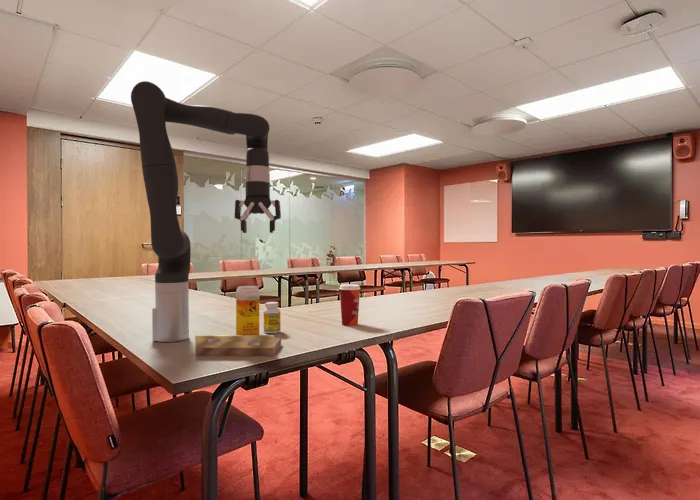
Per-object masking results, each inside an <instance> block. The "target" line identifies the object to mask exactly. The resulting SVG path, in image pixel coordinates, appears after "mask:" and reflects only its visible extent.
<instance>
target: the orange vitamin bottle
mask: <svg viewBox="0 0 700 500" xmlns="http://www.w3.org/2000/svg"><path fill="white" fill-rule="evenodd" d="M235 299H236V300H235V306H236V307H235V314H236V315H235V316H236V317H235V319H236V320H235V323H236V324H235V329H236V330H235V335H260V289H259V286H258V285H240V286H237V288H236V291H235Z"/></svg>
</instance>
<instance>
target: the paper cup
mask: <svg viewBox="0 0 700 500" xmlns="http://www.w3.org/2000/svg"><path fill="white" fill-rule="evenodd" d="M361 289H362V288H361V287H360V284H356V283H353V284H352V283H351V284H350V283H349V284H348V283H346V284H340V285H339V288H338V290H339V295H340V298H339V299H340V300H339V301H340V312H341V313H340V315H341V316H340V317H341V325H342V326H345V327H354V326H358V324H359V311H360V310H359V309H360V308H359V307H360V294H361V293H360V292H361Z"/></svg>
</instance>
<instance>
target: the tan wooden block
mask: <svg viewBox="0 0 700 500" xmlns="http://www.w3.org/2000/svg"><path fill="white" fill-rule="evenodd" d="M274 335H275V334H272V335H271V334H268V335H267V334H266V335H265V334H263V335H261V334H259V335H236V334H233V335H232V334H228V335H227V334H225V335H224V334H221V335H220V334H197V335H195V336H194V339H195V342H194V343H195V350H194V351H195V354H194V355H195V356H221V357H222V356H229V357H230V356H233V357H234V356H238V357H239V356H244V357H245V356H247V357H248V356H249V357H250V356H259V357H260V356H264V357H265V356H267V357H268V356H270V357H272V356H274V355H275V354H276V353H277V352H278V350H279V349H278V348H280V347H281V346H280V345H282V337H275V336H274ZM275 352H276V353H275Z"/></svg>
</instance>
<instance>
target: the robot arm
mask: <svg viewBox="0 0 700 500" xmlns="http://www.w3.org/2000/svg"><path fill="white" fill-rule="evenodd" d="M130 102H131V105H132V108H133V111H134V117H135V120H136V123H137V128H138V134H139V137H138V138H139V151H140V160H141V162H140V163H141V168H142V169H141V170H142V171H141V172H142V177H143V181H144V186H145V193H146V194H145V195H146V201H147V205H148V211H149V216H150V240H151V248H152V251H153V252H154V254H155V255H156V256H157V257H158V266H157V270H156V271H155V274H154V282H155V283H154V284H155V285H154V292H155V293H154V295H155V297H154V298H155V299H154V300H155V304H154V305H155V306H154V307H152V309H151V310H152V311H151V312H152V314H151V315H152V316H151V317H152V320H151V321H152V326H151V327H152V341H153V342H154V341H155V342H160V343H172V342H180V341H185V340H188V339H190V318H189V317H190V306H189V305H190V303H189V300H190V299H189V298H190V297H189V295H190V294H189V287H190V285H189V279H190V278H189V276H190V271H191V254H192V253H191V248H192V247H191V240H190V238H189V235H188V234H187V232H185V231H183V230H181V228H180V223H179V218H178V212H177V203H178V195H179V177H178V170H177V163H176V160H175V159H176V158H175V156H174V151H173V148H172V145H171V141H170V138H169V136H168V131H167V127H166V126H167V125H166V123H173V124H174V123H175V124H181V125H185V126H186V125H188V126H192V127H196V128H200V129H206V130H210V131H213V132H219V133H221V134H225V135H226V134H227V135H232V136H233V135H236V134H238V135H241V136H242V135H243V136H245V140H246V141H245V142H246V155H245V157H246V159H245V163H246V167H245V177H244V179H245V199H244V200H240V199H235V201H234V202H235V203H234V216H233V217H234V219H236V220H239V221H240V231H241V232H242V233H243V234H247V231H248V229H247V225H248V223H247V221H246V220H247V219H248V218H249V217H250V216H251V215H252V214H253V215H257V214H262V215H263V214H265V215H266V216H267V217H268V219H269V234H273V233H274V232H275V230H276V221H277V220H280V219H281V218H282V214H281V213H282V212H281V201H280V200H279V199H275V200H271V192H270V191H271V176H270V175H271V174H270V156H269V151H268V147H269V146H268V145H269V143H268V139H269V132H270V124H269V122H268V120H267V119H266V118H264V117H263V116H261V115H258V114H253V113H248V112H247V113H246V112H235V111H232V110H227V109H223V108H219V107H217V106H216V107H215V106H210V105H196V104H195V105H194V104H186V103H182V102H178V101H176V100H173V99H170V98H168V97H166V95H165V93H164V92H163V90H162V89H161V88H160V87H159V86H158V85H157V84H155V83H154V82H151V81H149V80H148V81H147V80H143V81H139V82H138V83H136V84H135V85H134V87H133V88H132V89H131V92H130ZM243 206H245V207H246V209H245V210H244V211H243V214H242V213H241V211H242V207H243ZM271 206H272V207H274V211H275V212H274V213H275V215H274V214H273V213H272V212H271V210H270V209H269V208H270V207H271ZM241 214H242V215H241Z"/></svg>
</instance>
